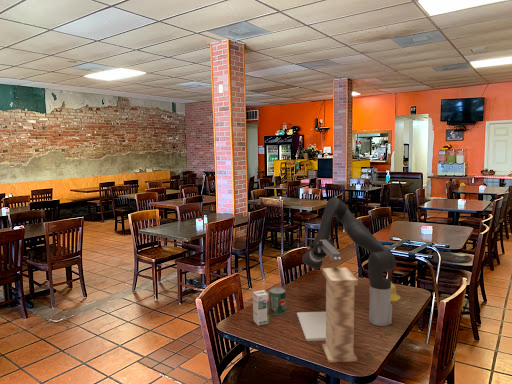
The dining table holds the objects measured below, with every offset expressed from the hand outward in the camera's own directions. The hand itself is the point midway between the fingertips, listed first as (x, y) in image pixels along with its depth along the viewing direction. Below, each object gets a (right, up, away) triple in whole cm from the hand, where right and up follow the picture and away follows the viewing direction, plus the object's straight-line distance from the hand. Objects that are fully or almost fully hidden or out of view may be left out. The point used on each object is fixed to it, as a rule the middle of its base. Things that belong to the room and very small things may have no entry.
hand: (325, 242), depth 167 cm
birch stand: (+2, -41, -18) cm, 45 cm away
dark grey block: (0, -4, -6) cm, 7 cm away
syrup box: (-29, -39, +9) cm, 49 cm away
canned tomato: (-20, -37, +20) cm, 47 cm away
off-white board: (-1, -39, +4) cm, 39 cm away
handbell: (+41, -35, +36) cm, 65 cm away
